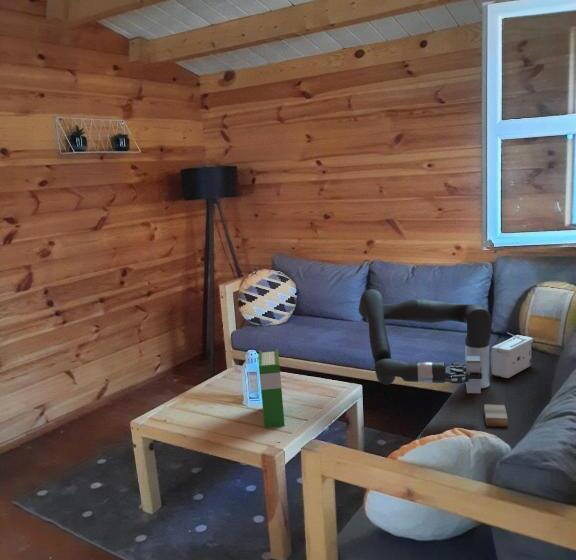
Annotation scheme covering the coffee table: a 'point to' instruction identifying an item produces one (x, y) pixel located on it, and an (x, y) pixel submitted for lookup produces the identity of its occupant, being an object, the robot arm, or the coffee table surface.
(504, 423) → the stand
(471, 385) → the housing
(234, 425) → the coffee table surface
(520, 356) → the stereo radio cassette player
